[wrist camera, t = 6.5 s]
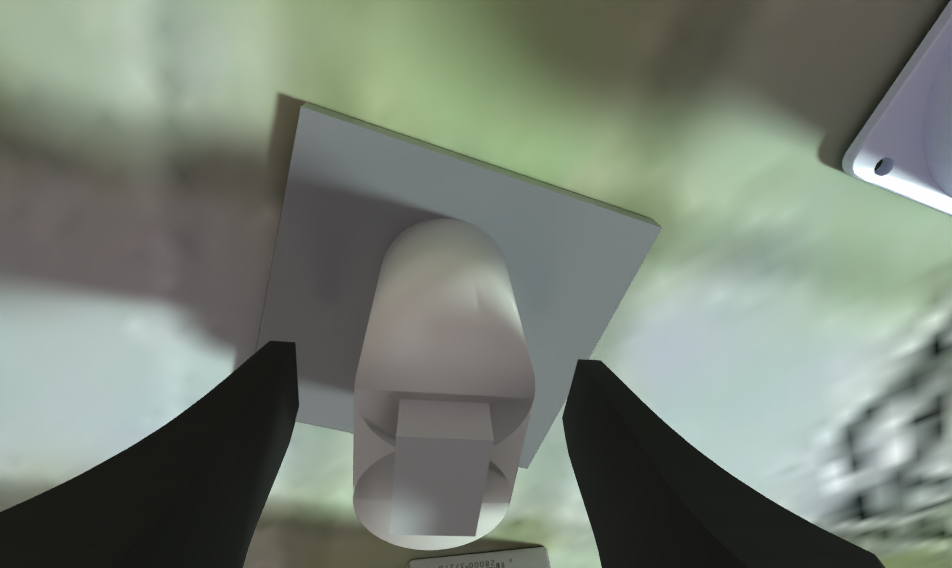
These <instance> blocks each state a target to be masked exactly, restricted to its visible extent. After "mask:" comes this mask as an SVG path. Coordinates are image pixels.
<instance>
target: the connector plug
mask: <svg viewBox="0 0 952 568" xmlns="http://www.w3.org/2000/svg"><path fill="white" fill-rule="evenodd" d="M534 395H535V377H534V371H533V367H532V364H531V360H530V356H529V352H528V348H527V344H526V340H525V336H524V333H523V329H522V325H521V321H520V317H519V313H518V309H517V306H516V302H515V298H514V294H513V290H512V286H511V282H510V279H509V275H508V271H507V267H506V263H505V260H504V257H503V254H502V252H501V250H500V248H499V246H498V245H497V244H496V242H495V241H494V240H493V239H492V238H491V237H490V236H489V235H488V234H487V233H486V232H485V231H483V230H482V229H480V228H479V227H477V226H475V225H473V224H471V223H468V222H466V221H462V220H458V219H452V218H436V219H430V220H425V221H422V222H419V223H416V224H414V225H412V226H411V227H409V228H407V229H406V230H404V231H403V232H401V233H400V234H399V235H398V236H397V237H396V238H395V239H394V240H393V242H392V243H391V244H390V246H389V247H388V249H387V251H386V253H385V255H384V258H383V261H382V265H381V269H380V274H379V278H378V282H377V287H376V291H375V295H374V300H373V304H372V308H371V313H370V317H369V321H368V326H367V330H366V334H365V338H364V343H363V347H362V351H361V356H360V360H359V364H358V369H357V373H356V377H355V385H354V450H353V505H354V509H355V512H356V515H357V517H358V518H359V520H360V521H361V523H362V524H363V525H364V526H365V527H366V528H367V529H368V530H369V531H370V532H371V533H373V534H374V535H375V536H377V537H379V538H380V539H382V540H384V541H386V542H388V543H391V544H394V545H397V546H400V547H404V548H409V549H416V550H441V549H449V548H454V547H458V546H462V545H465V544H468V543H470V542H473V541H475V540H477V539H479V538H481V537H483V536H484V535H486V534H487V533H489V532H490V531H491V530H493V529H494V528H495V527H496V526H497V525H498V524H499V523H500V522H501V520H502V519H503V518H504V516H505V514H506V512H507V510H508V508H509V505H510V501H511V496H512V492H513V488H514V483H515V479H516V475H517V470H518V466H519V462H520V457H521V453H522V449H523V444H524V440H525V435H526V431H527V427H528V422H529V418H530V414H531V409H532V405H533V401H534Z"/></svg>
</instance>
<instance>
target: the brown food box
mask: <svg viewBox="0 0 952 568" xmlns="http://www.w3.org/2000/svg"><path fill="white" fill-rule="evenodd" d="M407 568H551V567H550V562H549V557H548V552H547V549H546V548H545V547H537V548H526V549H516V550H507V551H497V552H488V553H479V554H468V555H457V556H446V557H438V558H426V559H416V560H411V561H410V562H409V563H408V564H407Z"/></svg>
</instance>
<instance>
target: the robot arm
mask: <svg viewBox="0 0 952 568" xmlns="http://www.w3.org/2000/svg"><path fill="white" fill-rule="evenodd" d="M881 159H883V162H882V164H881V166H880V167H879V168H878V169H877V170H875V171H874V168H875V166H876V164H877V163H878V162H879V161H880V160H881ZM842 167H843V170H844V172H846V173H847V174H848V175H851V176H853V177H856V178H858V179H861V180H863V181H866V182H868V183H871V184H873V185H876V186H878V187H881V188H883V189H886V190H888V191H891V192H893V193H896V194H898V195H901V196H903V197H906V198H908V199H911V200H913V201H916V202H918V203H921V204H923V205H926V206H928V207H931V208H933V209H936V210H938V211H941V212H943V213H946V214H949V215H951V216H952V0H950V2H949V3H948V5H947V6H946V7H945V9H944V10H943V12H942V13H941V15H940V16H939V18H938V19H937V21H936V22H935V23H934V25H933V26H932V28H931V29H930V31H929V32H928V34H927V35H926V37H925V38H924V39H923V41H922V42H921V44H920V45H919V47H918V48H917V50H916V51H915V53H914V54H913V55H912V57H911V58H910V60H909V61H908V63H907V64H906V66H905V67H904V69H903V70H902V71H901V73H900V74H899V76H898V77H897V79H896V80H895V82H894V83H893V85H892V86H891V87H890V89H889V90H888V92H887V93H886V95H885V96H884V98H883V99H882V101H881V102H880V103H879V105H878V106H877V108H876V109H875V111H874V112H873V114H872V115H871V117H870V118H869V119H868V121H867V122H866V124H865V125H864V127H863V128H862V130H861V131H860V133H859V134H858V135H857V137H856V138H855V140H854V141H853V143H852V144H851V146H850V147H849V149H848V150H847V151H846V153H845V155H844V157H843V161H842ZM298 409H299V394H298V377H297V361H296V345H295V342H283V341H269V342H268V343H266V344H265V345H264V346H263V347H262V348H260V349H259V350H258V351H257V352H256V353H255V354H254V355H252V356H251V357H250V358H249V359H248V360H247V361H246V362H244V363H243V364H242V365H241V366H240V367H239V368H238V369H236V370H235V371H234V372H233V373H232V374H231V375H229V376H228V377H227V378H226V379H225V380H223V381H222V382H221V383H220V384H219V385H217V386H216V387H215V388H214V389H212V390H211V391H210V392H209V393H208V394H206V395H205V396H204V397H203V398H201V399H200V400H199V401H197V402H196V403H195V404H193V405H192V406H191V407H189V408H188V409H187V410H185V411H184V412H183V413H181V414H180V415H179V416H177V417H176V418H174V419H173V420H172V421H170V422H169V423H167V424H166V425H164V426H163V427H161V428H160V429H158V430H157V431H155V432H154V433H152V434H150V435H149V436H147V437H146V438H144V439H142V440H141V441H139V442H138V443H136V444H134V445H133V446H131V447H129V448H128V449H126V450H124V451H122V452H121V453H119V454H117V455H115V456H113V457H112V458H110V459H108V460H106V461H104V462H103V463H101V464H99V465H97V466H95V467H93V468H92V469H90V470H88V471H86V472H84V473H83V474H81V475H79V476H77V477H75V478H73V479H71V480H69V481H67V482H65V483H63V484H61V485H59V486H57V487H55V488H52V489H50V490H48V491H46V492H44V493H42V494H40V495H37V496H35V497H33V498H31V499H29V500H27V501H25V502H22V503H20V504H18V505H15V506H13V507H11V508H9V509H6V510H4V511H2V512H0V568H243V565H244V561H245V558H246V554H247V551H248V548H249V544H250V542H251V539H252V536H253V533H254V530H255V528H256V525H257V522H258V520H259V518H260V515H261V513H262V510H263V508H264V505H265V503H266V500H267V498H268V495H269V493H270V490H271V488H272V486H273V483H274V481H275V478H276V476H277V473H278V471H279V468H280V466H281V463H282V461H283V458H284V456H285V453H286V451H287V448H288V445H289V443H290V439H291V436H292V432H293V428H294V425H295V421H296V417H297V413H298ZM562 419H563V425H564V431H565V438H566V443H567V448H568V453H569V457H570V460H571V463H572V467H573V470H574V473H575V476H576V479H577V483H578V486H579V489H580V492H581V495H582V498H583V501H584V505H585V508H586V511H587V514H588V517H589V520H590V523H591V527H592V530H593V533H594V536H595V540H596V544H597V547H598V551H599V556H600V561H601V565H602V568H885V567H884V565H883V564H882V563H881V562H880V560H879V559H878V558H877V557H876V556H875V554H873V553H871V552H869V551H867V550H865V549H862V548H860V547H858V546H856V545H854V544H852V543H850V542H848V541H846V540H844V539H842V538H840V537H838V536H836V535H834V534H832V533H830V532H828V531H826V530H823V529H821V528H820V527H818V526H816V525H814V524H812V523H810V522H808V521H807V520H805V519H803V518H801V517H799V516H798V515H796V514H794V513H792V512H790V511H789V510H787V509H785V508H783V507H782V506H780V505H778V504H776V503H775V502H773V501H771V500H770V499H768V498H766V497H765V496H763V495H762V494H760V493H758V492H757V491H755V490H754V489H752V488H751V487H749V486H748V485H746V484H745V483H743V482H741V481H740V480H738V479H737V478H735V477H734V476H732V475H731V474H730V473H728V472H727V471H725V470H724V469H722V468H721V467H720V466H718V465H717V464H716V463H714V462H713V461H712V460H710V459H709V458H708V457H706V456H705V455H704V454H702V453H701V452H700V451H698V450H697V449H696V448H694V447H693V446H692V445H691V444H689V443H688V442H687V441H686V440H685V439H683V438H682V437H681V436H680V435H679V434H678V433H676V432H675V431H674V430H673V429H672V428H671V427H669V426H668V425H667V424H666V423H665V422H664V421H663V420H662V419H661V418H659V417H658V416H657V415H656V414H655V413H654V412H653V411H652V410H651V409H650V408H649V407H648V406H647V405H646V404H644V403H643V402H642V401H641V400H640V399H639V398H638V397H637V396H636V395H635V394H634V393H633V392H632V391H631V390H630V389H629V388H628V387H627V386H626V385H625V384H624V383H623V382H622V381H621V380H620V379H619V378H618V377H617V376H616V375H615V374H614V373H613V372H612V371H611V370H610V369H609V368H608V367H607V366H606V365H605V364H604V363H603V362H601V361H600V360H583V359H578V361H577V365H576V368H575V372H574V376H573V380H572V383H571V387H570V391H569V395H568V398H567V402H566V406H565V410H564V413H563V417H562Z"/></svg>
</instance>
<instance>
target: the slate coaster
mask: <svg viewBox="0 0 952 568" xmlns="http://www.w3.org/2000/svg"><path fill="white" fill-rule="evenodd" d="M436 218H452V219H458V220H462V221H466V222H468V223H471V224H473V225H475V226H477V227H479V228H480V229H482V230H483V231H485V232H486V233H487V234H488V235H489V236H490V237H491V238H492V239H493V240H494V241H495V242H496V244H497V245H498V246H499V248H500V250H501V252H502V254H503V257H504V260H505V263H506V267H507V271H508V275H509V279H510V282H511V286H512V290H513V294H514V298H515V302H516V306H517V309H518V313H519V317H520V321H521V325H522V329H523V333H524V336H525V340H526V344H527V348H528V352H529V356H530V360H531V364H532V367H533V371H534V377H535V395H534V401H533V405H532V409H531V414H530V418H529V422H528V427H527V431H526V435H525V440H524V444H523V449H522V453H521V457H520V462H519V466H518V467H521V468H526V469H527V468H528V467H529V465H530V463H531V461H532V459H533V458H534V456H535V454H536V452H537V450H538V449H539V447H540V445H541V443H542V442H543V440H544V438H545V436H546V434H547V433H548V431H549V429H550V427H551V425H552V424H553V422H554V420H555V418H556V416H557V415H558V413H559V411H560V409H561V408H562V406H563V404H564V402H565V400H566V399H567V397H568V395H569V391H570V387H571V383H572V380H573V376H574V372H575V368H576V365H577V361H578V359H583V360H588V359H589V357H590V356H591V354H592V352H593V350H594V348H595V347H596V345H597V343H598V341H599V340H600V338H601V336H602V334H603V332H604V331H605V329H606V327H607V325H608V323H609V322H610V320H611V318H612V316H613V314H614V313H615V311H616V309H617V307H618V306H619V304H620V302H621V300H622V298H623V297H624V295H625V293H626V291H627V289H628V288H629V286H630V284H631V282H632V280H633V279H634V277H635V275H636V273H637V272H638V270H639V268H640V266H641V264H642V263H643V261H644V259H645V257H646V255H647V254H648V252H649V250H650V248H651V246H652V245H653V243H654V241H655V239H656V238H657V236H658V234H659V232H660V230H661V229H662V227H661V226H660V225H659V224H658V223H657V222H656V221H655V220H653V219H650V218H647V217H644V216H641V215H638V214H635V213H632V212H629V211H626V210H623V209H620V208H617V207H614V206H611V205H608V204H605V203H603V202H600V201H597V200H594V199H591V198H588V197H585V196H582V195H579V194H576V193H573V192H570V191H567V190H564V189H561V188H558V187H555V186H552V185H549V184H546V183H543V182H540V181H538V180H535V179H532V178H529V177H526V176H523V175H520V174H517V173H514V172H511V171H508V170H505V169H502V168H499V167H496V166H493V165H490V164H487V163H484V162H481V161H478V160H475V159H472V158H470V157H467V156H464V155H461V154H458V153H455V152H452V151H449V150H446V149H443V148H440V147H437V146H434V145H431V144H428V143H425V142H422V141H419V140H416V139H413V138H410V137H407V136H405V135H402V134H399V133H396V132H393V131H390V130H387V129H384V128H381V127H378V126H375V125H372V124H369V123H366V122H363V121H360V120H357V119H354V118H351V117H348V116H345V115H342V114H340V113H337V112H334V111H331V110H328V109H325V108H322V107H319V106H316V105H313V104H310V103H307V102H306V103H305V104H304V105H302V106H301V108H300V113H299V119H298V124H297V130H296V135H295V141H294V146H293V151H292V157H291V162H290V168H289V173H288V179H287V184H286V189H285V195H284V200H283V206H282V211H281V217H280V222H279V227H278V233H277V238H276V244H275V249H274V255H273V260H272V266H271V271H270V276H269V282H268V287H267V293H266V298H265V304H264V309H263V314H262V320H261V325H260V331H259V336H258V342H257V347H256V352H257V351H258V350H259V349H260V348H262V347H263V346H264V345H265V344H266V343H268V342H269V341H283V342H295V345H296V361H297V377H298V394H299V409H298V413H297V417H296V421H295V422H300V423H305V424H310V425H315V426H320V427H325V428H330V429H334V430H339V431H344V432H349V433H354V385H355V377H356V373H357V369H358V364H359V360H360V356H361V351H362V347H363V343H364V338H365V334H366V330H367V326H368V321H369V317H370V313H371V308H372V304H373V300H374V295H375V291H376V287H377V282H378V278H379V274H380V269H381V265H382V261H383V258H384V255H385V253H386V251H387V249H388V247H389V246H390V244H391V243H392V242H393V240H394V239H395V238H396V237H397V236H398V235H399V234H400V233H401V232H403V231H404V230H406V229H407V228H409V227H411V226H412V225H414V224H416V223H419V222H422V221H425V220H430V219H436ZM256 352H255V353H256Z"/></svg>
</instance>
